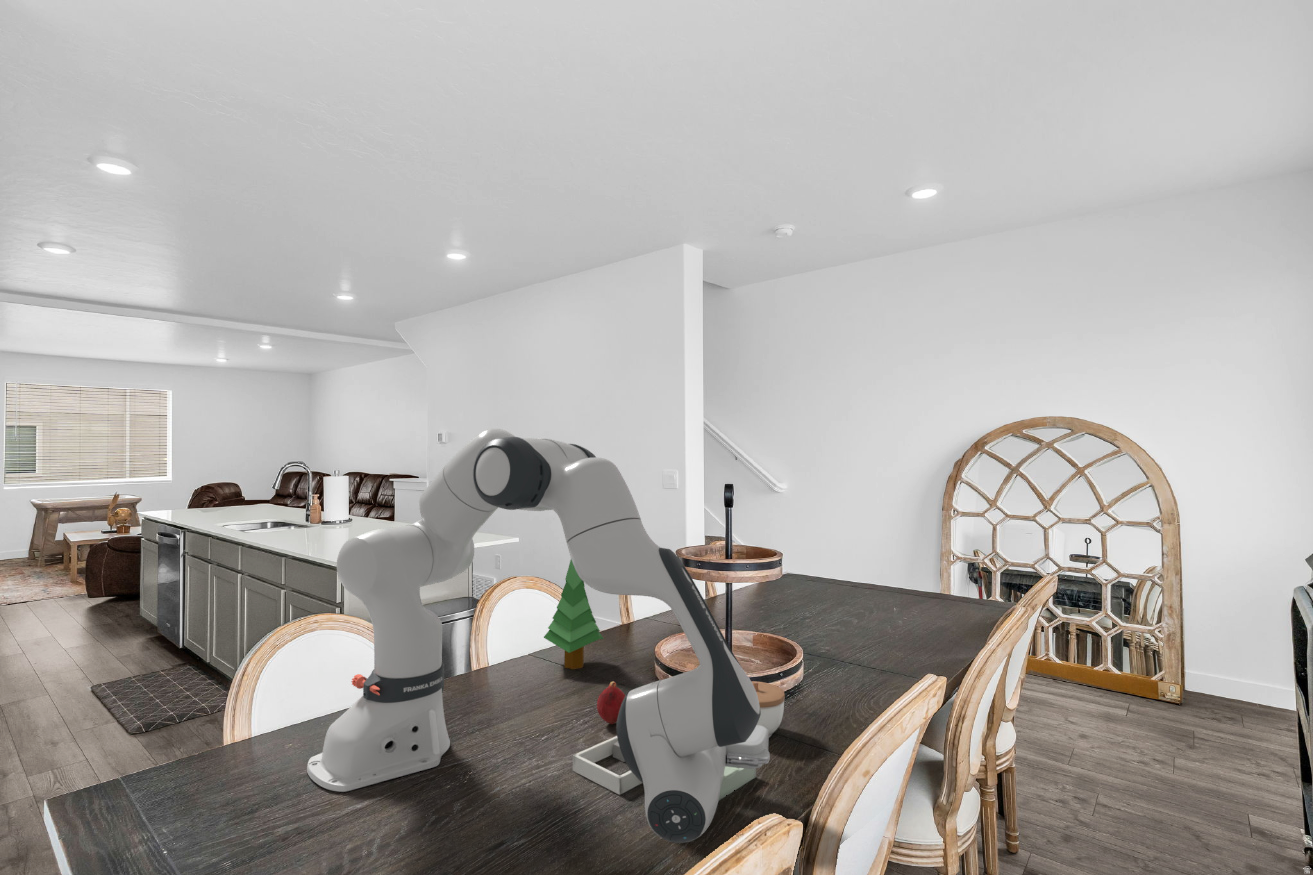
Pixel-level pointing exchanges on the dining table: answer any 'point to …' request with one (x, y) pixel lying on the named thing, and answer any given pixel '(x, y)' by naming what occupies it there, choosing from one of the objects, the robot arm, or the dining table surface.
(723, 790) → the green bin
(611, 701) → the onion
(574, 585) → the decorative tree
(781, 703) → the lidded jar
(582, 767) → the gravel bin
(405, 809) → the dining table surface
